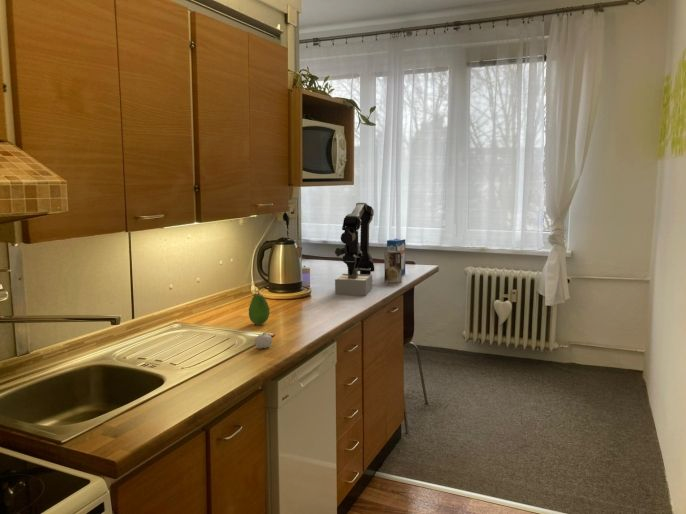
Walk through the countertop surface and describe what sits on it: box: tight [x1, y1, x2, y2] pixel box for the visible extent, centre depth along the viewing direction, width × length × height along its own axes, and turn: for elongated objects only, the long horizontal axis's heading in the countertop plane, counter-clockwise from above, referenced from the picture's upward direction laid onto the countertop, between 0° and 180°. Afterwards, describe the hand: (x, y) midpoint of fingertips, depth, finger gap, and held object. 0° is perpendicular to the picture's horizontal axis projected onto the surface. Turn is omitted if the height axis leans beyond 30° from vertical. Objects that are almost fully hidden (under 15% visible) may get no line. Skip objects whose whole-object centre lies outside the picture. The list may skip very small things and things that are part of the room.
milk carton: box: [386, 238, 406, 276], centre depth 316 cm, size 10×6×20 cm, turn 144°
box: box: [334, 273, 373, 296], centre depth 273 cm, size 16×15×7 cm
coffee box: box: [383, 250, 403, 283], centre depth 297 cm, size 9×6×16 cm
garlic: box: [254, 331, 273, 350], centre depth 185 cm, size 6×5×5 cm
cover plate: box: [337, 268, 369, 280], centre depth 272 cm, size 14×14×5 cm
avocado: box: [248, 293, 270, 326], centre depth 214 cm, size 8×8×12 cm
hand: (352, 273), depth 272 cm, fingers open, 9 cm apart
